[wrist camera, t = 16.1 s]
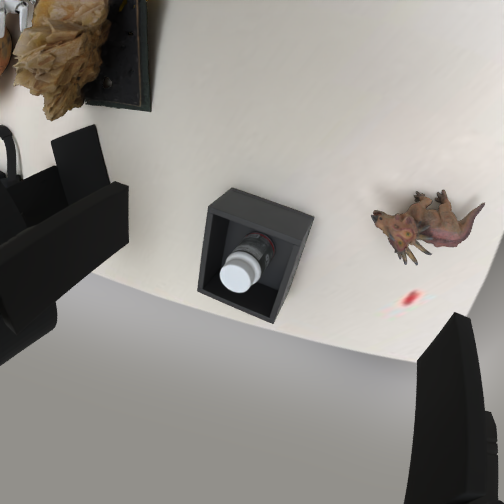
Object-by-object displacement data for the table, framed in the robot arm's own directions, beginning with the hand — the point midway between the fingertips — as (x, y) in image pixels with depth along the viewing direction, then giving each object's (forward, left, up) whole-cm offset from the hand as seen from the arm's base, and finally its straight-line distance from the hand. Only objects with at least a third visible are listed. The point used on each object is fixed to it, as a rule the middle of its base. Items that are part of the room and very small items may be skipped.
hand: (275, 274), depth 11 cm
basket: (+18, -7, -29) cm, 34 cm away
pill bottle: (+18, -7, -28) cm, 34 cm away
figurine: (-12, -54, -19) cm, 59 cm away
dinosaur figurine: (+5, +12, -29) cm, 32 cm away
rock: (-8, -38, -26) cm, 46 cm away
